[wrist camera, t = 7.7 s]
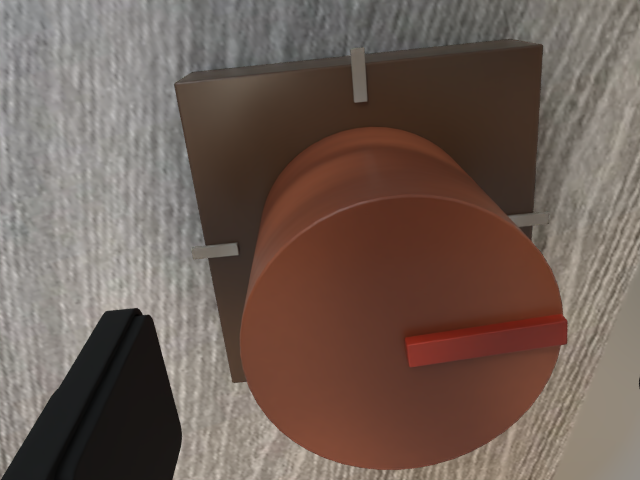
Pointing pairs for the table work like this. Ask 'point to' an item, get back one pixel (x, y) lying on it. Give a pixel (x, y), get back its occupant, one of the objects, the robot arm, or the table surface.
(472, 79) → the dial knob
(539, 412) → the table surface
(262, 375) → the orange rotary knob
